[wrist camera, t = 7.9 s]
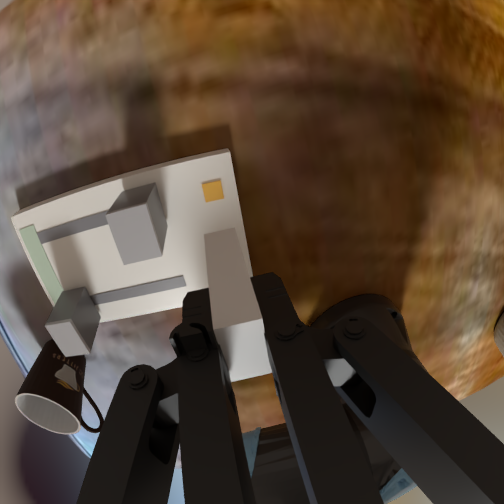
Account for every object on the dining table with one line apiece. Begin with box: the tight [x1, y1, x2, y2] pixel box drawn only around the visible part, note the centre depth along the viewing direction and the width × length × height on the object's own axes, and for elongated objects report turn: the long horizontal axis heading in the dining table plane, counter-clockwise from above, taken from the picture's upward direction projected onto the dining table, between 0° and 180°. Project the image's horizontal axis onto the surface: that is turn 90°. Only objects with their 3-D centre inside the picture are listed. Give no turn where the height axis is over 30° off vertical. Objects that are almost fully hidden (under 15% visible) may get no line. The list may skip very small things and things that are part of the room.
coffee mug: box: [15, 340, 104, 434], centre depth 30 cm, size 12×9×10 cm
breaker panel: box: [11, 148, 253, 323], centre depth 28 cm, size 22×14×2 cm, turn 99°
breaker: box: [45, 286, 101, 357], centre depth 26 cm, size 3×4×5 cm
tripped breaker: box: [105, 182, 168, 265], centre depth 22 cm, size 3×4×5 cm
